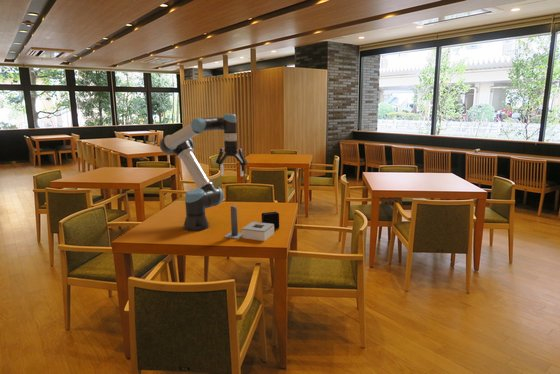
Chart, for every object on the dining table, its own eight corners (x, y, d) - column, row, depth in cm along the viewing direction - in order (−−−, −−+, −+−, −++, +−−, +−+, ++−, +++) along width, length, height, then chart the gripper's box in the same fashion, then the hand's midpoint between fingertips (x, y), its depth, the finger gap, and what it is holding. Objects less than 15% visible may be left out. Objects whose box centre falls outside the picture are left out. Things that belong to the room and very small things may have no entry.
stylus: (230, 235, 222) (229, 207, 219) (233, 233, 225) (232, 205, 222) (236, 236, 221) (235, 207, 217) (238, 234, 224) (238, 206, 221)
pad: (224, 237, 221) (223, 236, 221) (231, 232, 229) (231, 231, 229) (237, 239, 218) (237, 238, 218) (245, 234, 226) (245, 233, 226)
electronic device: (261, 228, 236) (261, 213, 234) (276, 226, 239) (276, 211, 237) (263, 230, 232) (263, 214, 230) (279, 228, 236) (279, 213, 233)
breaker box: (242, 238, 220) (242, 228, 218) (252, 230, 232) (252, 221, 231) (264, 241, 215) (264, 231, 213) (274, 233, 227) (274, 223, 226)
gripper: (209, 140, 229) (210, 175, 233) (246, 141, 220) (247, 177, 224) (215, 139, 236) (217, 173, 240) (252, 140, 227) (253, 175, 231)
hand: (231, 175), depth 232 cm, fingers open, 13 cm apart
